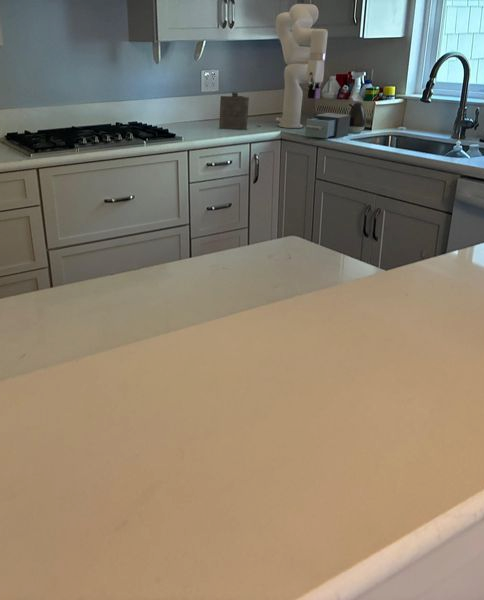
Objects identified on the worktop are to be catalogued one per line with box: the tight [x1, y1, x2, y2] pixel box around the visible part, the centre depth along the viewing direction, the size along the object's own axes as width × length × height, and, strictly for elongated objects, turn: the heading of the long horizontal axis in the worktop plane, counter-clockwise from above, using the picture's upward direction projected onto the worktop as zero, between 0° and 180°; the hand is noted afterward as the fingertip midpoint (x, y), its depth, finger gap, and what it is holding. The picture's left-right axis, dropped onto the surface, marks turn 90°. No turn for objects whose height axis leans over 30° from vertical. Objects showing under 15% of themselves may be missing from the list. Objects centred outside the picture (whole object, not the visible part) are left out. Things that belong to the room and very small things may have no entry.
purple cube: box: [306, 88, 321, 100], centre depth 296 cm, size 4×4×4 cm
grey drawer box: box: [313, 112, 351, 139], centre depth 304 cm, size 15×13×10 cm
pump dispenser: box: [347, 101, 367, 134], centre depth 314 cm, size 10×10×15 cm
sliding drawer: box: [304, 117, 337, 139], centre depth 294 cm, size 18×11×8 cm, turn 144°
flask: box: [218, 91, 250, 131], centre depth 313 cm, size 4×14×18 cm, turn 81°
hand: (313, 97), depth 297 cm, fingers closed on purple cube, 4 cm apart
